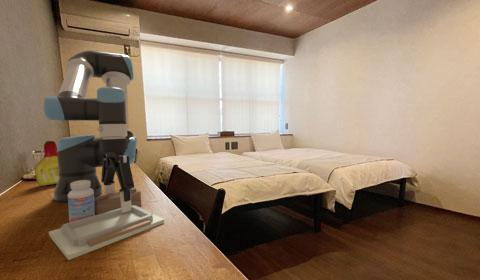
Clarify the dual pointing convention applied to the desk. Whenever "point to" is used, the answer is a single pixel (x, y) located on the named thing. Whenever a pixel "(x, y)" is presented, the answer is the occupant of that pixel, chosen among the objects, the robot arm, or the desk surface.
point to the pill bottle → (80, 200)
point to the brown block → (114, 201)
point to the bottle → (48, 165)
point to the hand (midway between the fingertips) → (118, 207)
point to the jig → (102, 230)
